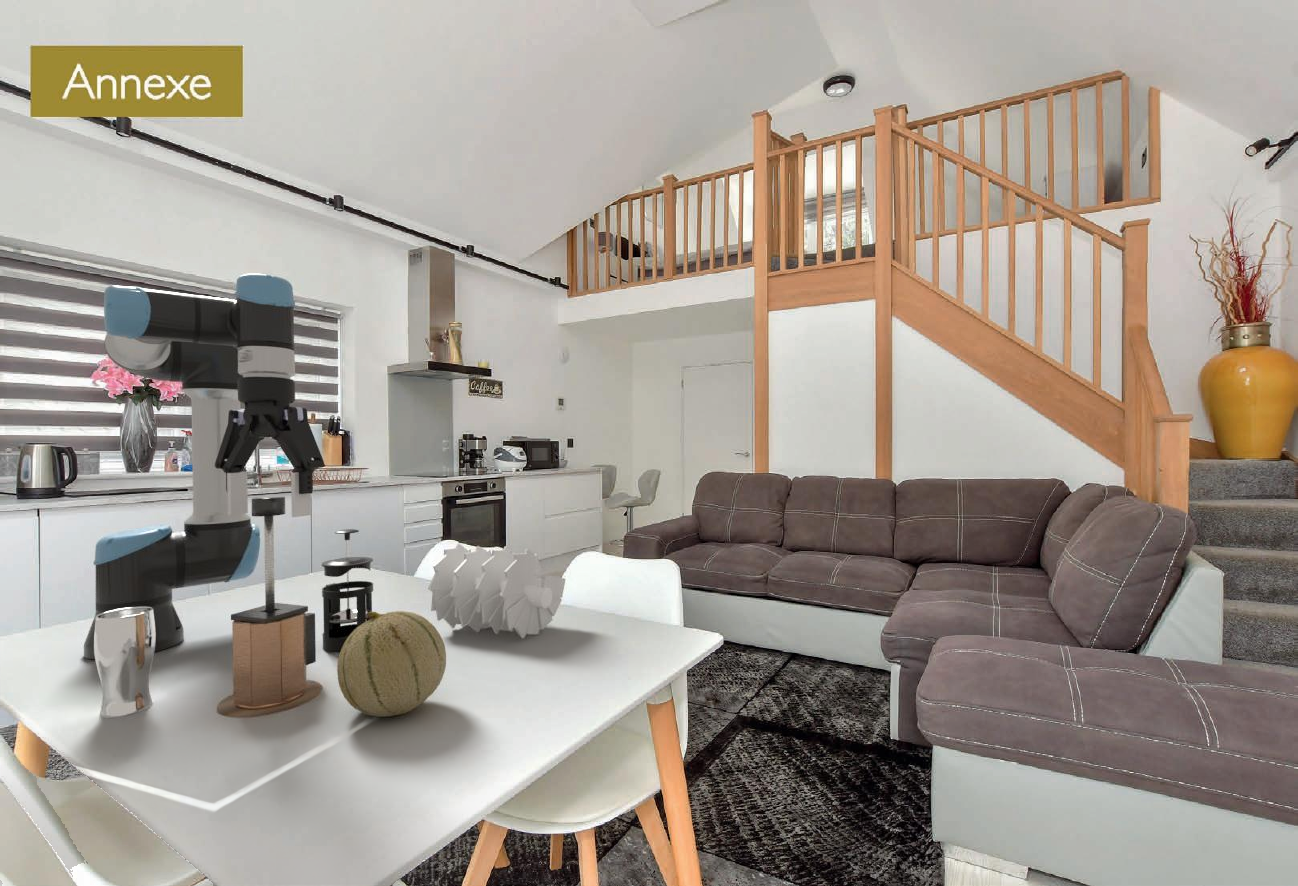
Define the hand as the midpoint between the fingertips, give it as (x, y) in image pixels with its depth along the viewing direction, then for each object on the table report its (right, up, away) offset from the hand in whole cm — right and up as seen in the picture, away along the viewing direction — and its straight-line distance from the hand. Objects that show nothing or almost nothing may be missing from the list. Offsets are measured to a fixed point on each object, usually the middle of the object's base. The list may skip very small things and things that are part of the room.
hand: (268, 515), depth 94 cm
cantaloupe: (+21, -29, -4) cm, 36 cm away
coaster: (0, -29, 0) cm, 29 cm away
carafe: (+1, -28, +1) cm, 28 cm away
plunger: (0, -18, 0) cm, 18 cm away
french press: (0, -29, +25) cm, 38 cm away
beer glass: (-19, -29, -3) cm, 35 cm away
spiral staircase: (+27, -29, +34) cm, 52 cm away
